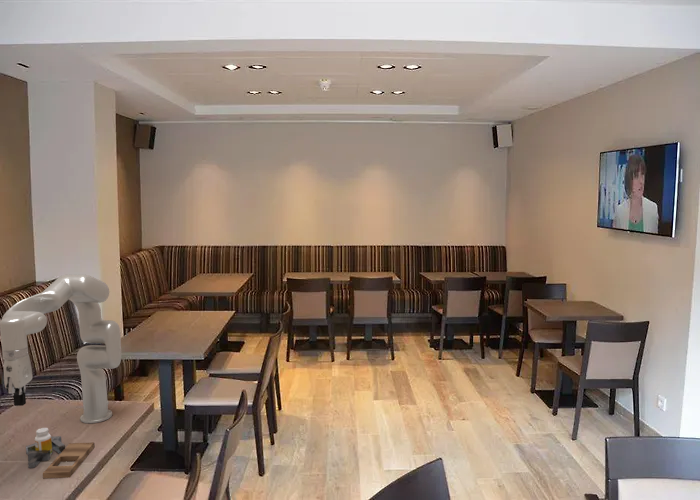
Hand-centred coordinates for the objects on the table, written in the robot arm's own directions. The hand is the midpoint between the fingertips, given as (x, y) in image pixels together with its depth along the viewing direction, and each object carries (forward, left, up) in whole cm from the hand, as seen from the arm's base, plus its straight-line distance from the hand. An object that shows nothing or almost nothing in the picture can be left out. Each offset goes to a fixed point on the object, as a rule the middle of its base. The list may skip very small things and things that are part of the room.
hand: (20, 404), depth 198 cm
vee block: (-18, 0, -25) cm, 31 cm away
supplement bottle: (-14, 0, -25) cm, 29 cm away
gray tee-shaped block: (-7, 0, -25) cm, 26 cm away
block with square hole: (-7, +12, -25) cm, 29 cm away
